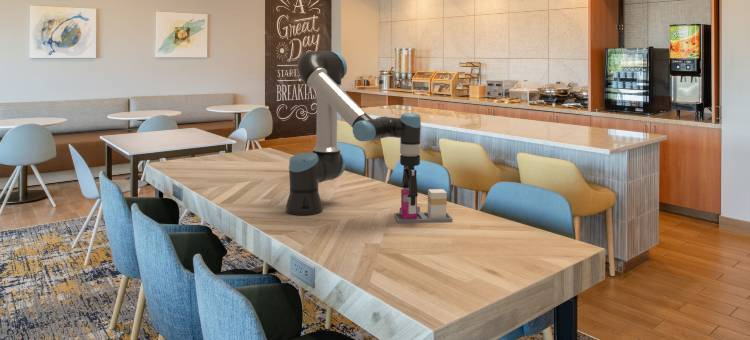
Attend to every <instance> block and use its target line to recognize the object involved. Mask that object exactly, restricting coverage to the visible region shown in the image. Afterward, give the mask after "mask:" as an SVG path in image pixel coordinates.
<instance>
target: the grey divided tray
mask: <svg viewBox="0 0 750 340" xmlns="http://www.w3.org/2000/svg"><path fill="white" fill-rule="evenodd" d="M393 215H394V218H395V220H396V222H397V224H421V223H422V224H424V223H426V224H427V223H453V217H451V216H450V214H449V213H448V212H447V211H446V218H435V219H429V218H428V217H427V216H428V211H425V212H424V211H423V212H421V211H420V212H418V213H417V219H402V217H401V213H400V212H394V213H393Z"/></svg>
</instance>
